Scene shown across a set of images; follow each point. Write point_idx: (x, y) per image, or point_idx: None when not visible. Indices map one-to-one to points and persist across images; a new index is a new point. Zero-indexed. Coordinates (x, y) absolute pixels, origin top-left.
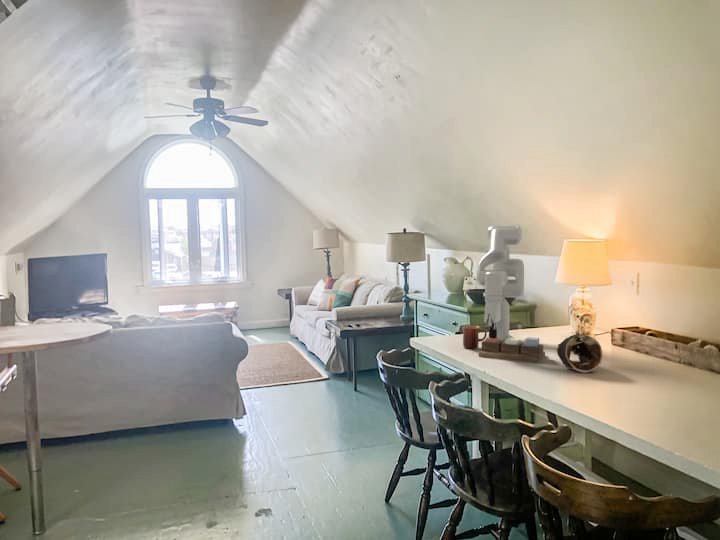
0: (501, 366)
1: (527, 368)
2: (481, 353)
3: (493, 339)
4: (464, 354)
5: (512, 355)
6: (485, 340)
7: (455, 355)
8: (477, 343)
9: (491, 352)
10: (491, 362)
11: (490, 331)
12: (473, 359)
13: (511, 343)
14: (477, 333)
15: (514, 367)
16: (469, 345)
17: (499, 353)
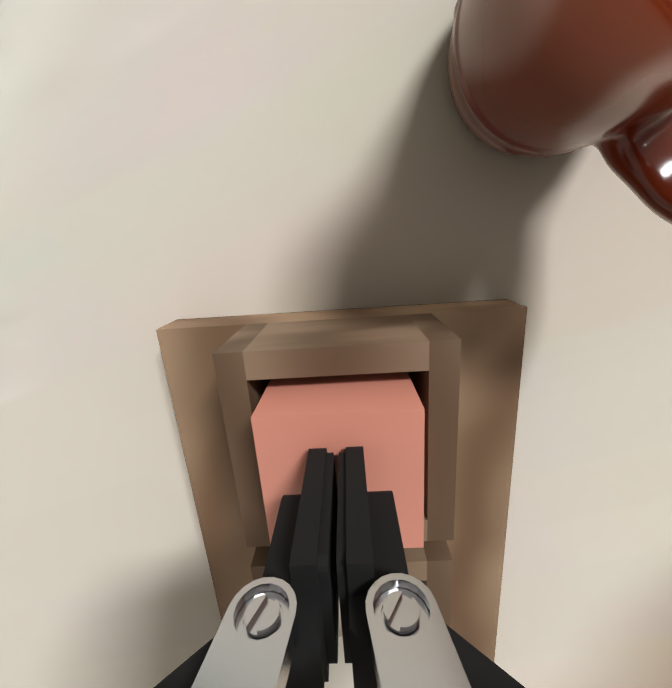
0: (19, 552)
1: (93, 664)
2: (167, 354)
3: (267, 512)
4: (164, 161)
5: (227, 588)
6: (339, 361)
7: (55, 92)
8: (540, 150)
9: (222, 433)
10: (66, 471)
11: (268, 562)
12: (46, 325)
13: None
14: (657, 94)
15: (58, 612)
16: (453, 67)
17: (230, 497)
